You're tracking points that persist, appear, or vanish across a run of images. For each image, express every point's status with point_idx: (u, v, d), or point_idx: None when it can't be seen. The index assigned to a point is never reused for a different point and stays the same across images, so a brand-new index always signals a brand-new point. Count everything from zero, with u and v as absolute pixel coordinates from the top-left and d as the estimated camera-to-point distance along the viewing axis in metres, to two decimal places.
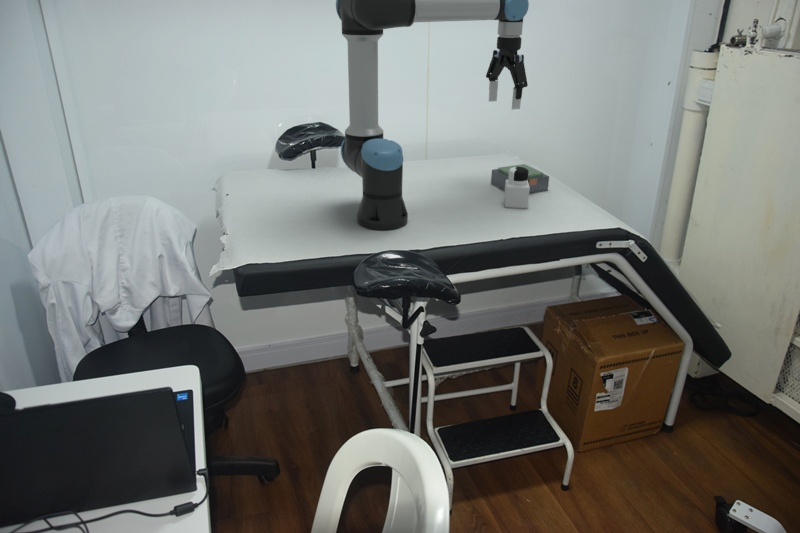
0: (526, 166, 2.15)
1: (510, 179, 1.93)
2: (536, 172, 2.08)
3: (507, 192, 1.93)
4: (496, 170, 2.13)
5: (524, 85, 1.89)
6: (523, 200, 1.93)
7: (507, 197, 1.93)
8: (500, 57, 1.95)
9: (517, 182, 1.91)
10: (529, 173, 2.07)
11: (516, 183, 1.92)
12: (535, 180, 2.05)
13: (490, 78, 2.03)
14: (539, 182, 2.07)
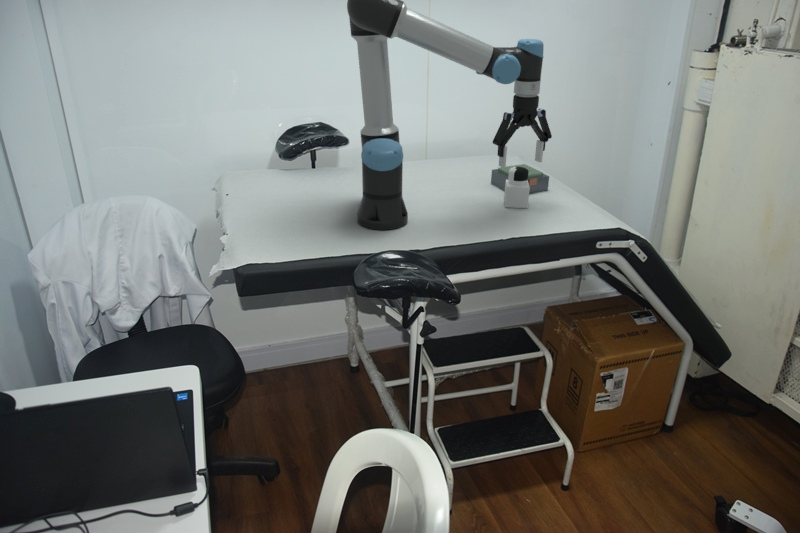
0: (526, 166, 2.15)
1: (510, 179, 1.93)
2: (536, 172, 2.08)
3: (507, 192, 1.93)
4: (496, 170, 2.13)
5: (494, 143, 1.84)
6: (523, 200, 1.93)
7: (507, 197, 1.93)
8: None
9: (517, 182, 1.91)
10: (529, 173, 2.07)
11: (516, 183, 1.92)
12: (535, 180, 2.05)
13: None
14: (539, 182, 2.07)
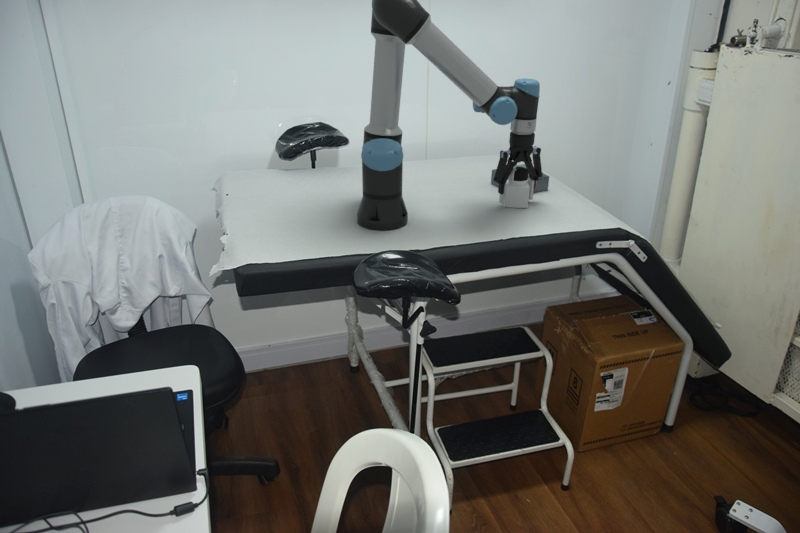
0: None
1: (510, 179, 1.93)
2: None
3: (507, 192, 1.93)
4: None
5: (495, 181, 1.91)
6: (523, 200, 1.93)
7: (507, 197, 1.93)
8: None
9: (517, 182, 1.91)
10: None
11: (516, 183, 1.92)
12: None
13: (530, 175, 1.97)
14: (539, 182, 2.07)
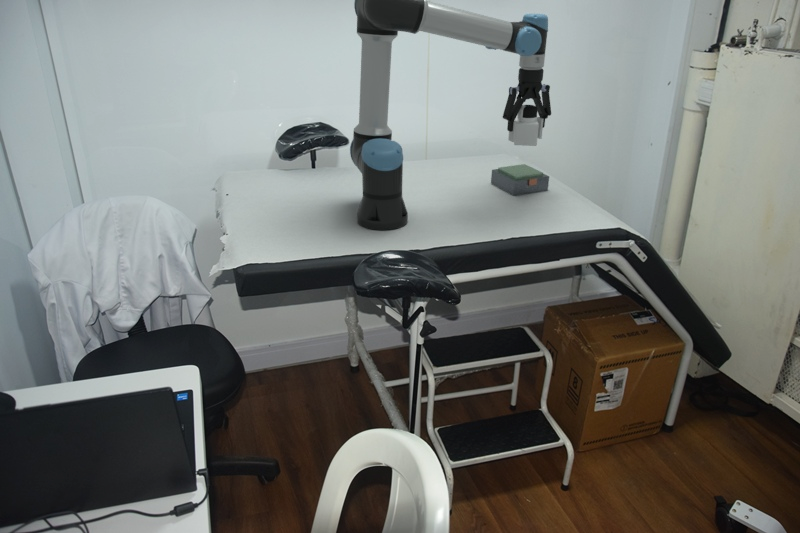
0: (526, 166, 2.15)
1: (519, 116, 1.95)
2: (536, 172, 2.08)
3: (516, 129, 1.95)
4: (496, 170, 2.13)
5: (504, 118, 1.93)
6: (532, 138, 1.95)
7: (516, 134, 1.95)
8: None
9: (526, 119, 1.94)
10: (529, 173, 2.07)
11: (525, 120, 1.94)
12: (535, 180, 2.05)
13: None
14: (539, 182, 2.07)
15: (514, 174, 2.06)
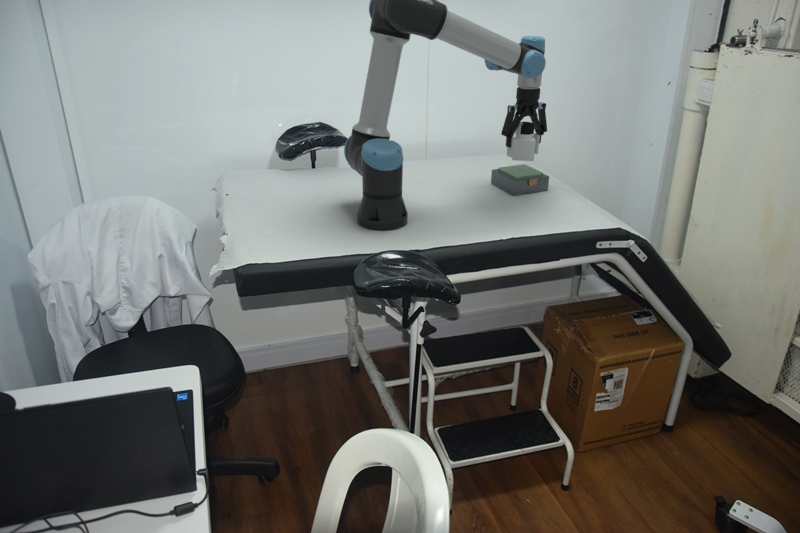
0: (526, 166, 2.15)
1: (517, 133, 2.03)
2: (536, 172, 2.08)
3: (514, 145, 2.04)
4: (496, 170, 2.13)
5: (503, 134, 2.02)
6: (529, 153, 2.04)
7: (514, 150, 2.04)
8: None
9: (524, 135, 2.02)
10: (529, 173, 2.07)
11: (523, 136, 2.03)
12: (535, 180, 2.05)
13: (536, 130, 2.08)
14: (539, 182, 2.07)
15: (514, 174, 2.06)
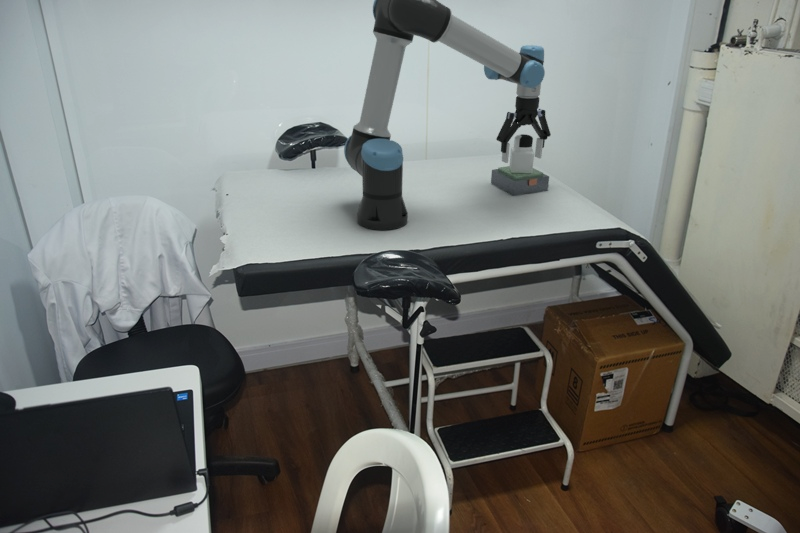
0: None
1: (516, 146, 2.05)
2: (536, 172, 2.08)
3: (513, 158, 2.05)
4: (496, 170, 2.13)
5: (498, 139, 2.02)
6: (528, 166, 2.06)
7: (513, 163, 2.06)
8: None
9: (522, 148, 2.04)
10: (529, 173, 2.07)
11: (521, 149, 2.05)
12: (535, 180, 2.05)
13: None
14: (539, 182, 2.07)
15: (514, 174, 2.06)
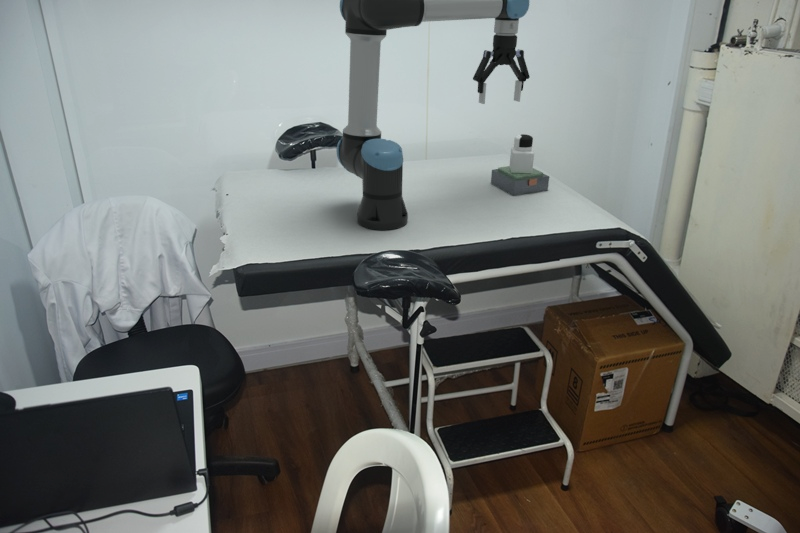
0: None
1: (516, 146, 2.05)
2: (536, 172, 2.08)
3: (513, 158, 2.05)
4: (496, 170, 2.13)
5: (474, 79, 1.97)
6: (528, 166, 2.06)
7: (513, 163, 2.06)
8: None
9: (522, 148, 2.04)
10: (529, 173, 2.07)
11: (521, 149, 2.05)
12: (535, 180, 2.05)
13: None
14: (539, 182, 2.07)
15: (514, 174, 2.06)
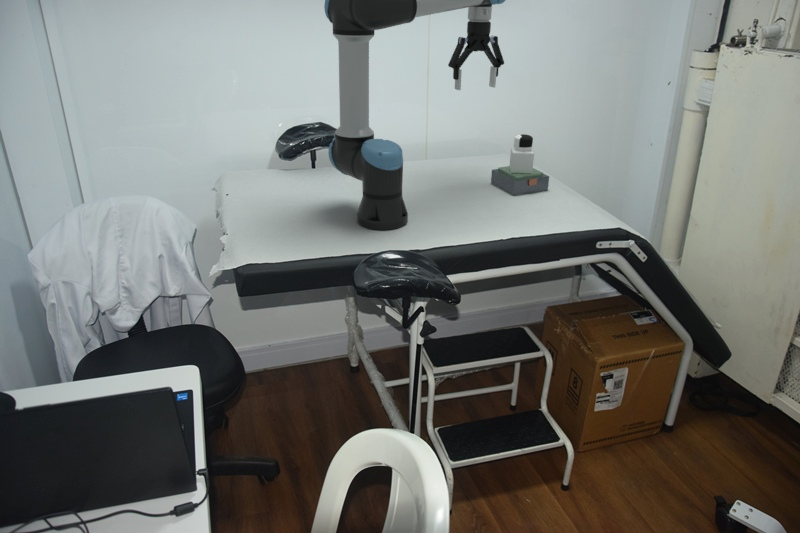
0: None
1: (516, 146, 2.05)
2: (536, 172, 2.08)
3: (513, 158, 2.05)
4: (496, 170, 2.13)
5: (450, 65, 2.00)
6: (528, 166, 2.06)
7: (513, 163, 2.06)
8: None
9: (522, 148, 2.04)
10: (529, 173, 2.07)
11: (521, 149, 2.05)
12: (535, 180, 2.05)
13: None
14: (539, 182, 2.07)
15: (514, 174, 2.06)
